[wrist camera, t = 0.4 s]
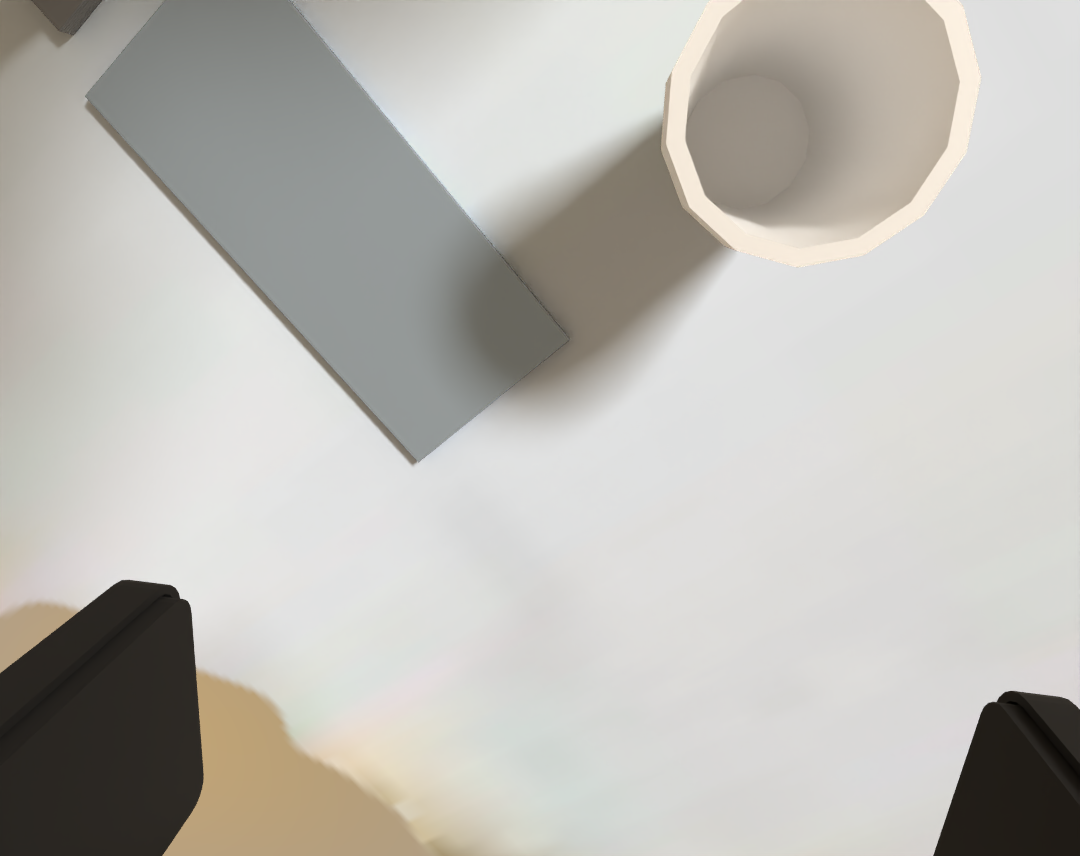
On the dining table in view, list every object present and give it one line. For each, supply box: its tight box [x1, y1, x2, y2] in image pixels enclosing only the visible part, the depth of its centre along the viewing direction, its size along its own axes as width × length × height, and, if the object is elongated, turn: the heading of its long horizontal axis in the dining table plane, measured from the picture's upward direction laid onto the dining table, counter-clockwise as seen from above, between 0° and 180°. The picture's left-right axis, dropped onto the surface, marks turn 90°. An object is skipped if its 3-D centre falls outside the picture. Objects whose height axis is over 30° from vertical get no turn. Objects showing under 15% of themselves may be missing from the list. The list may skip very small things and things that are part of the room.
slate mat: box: [85, 0, 569, 463], centre depth 37 cm, size 11×25×1 cm, turn 40°
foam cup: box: [661, 0, 981, 267], centre depth 28 cm, size 10×9×13 cm
